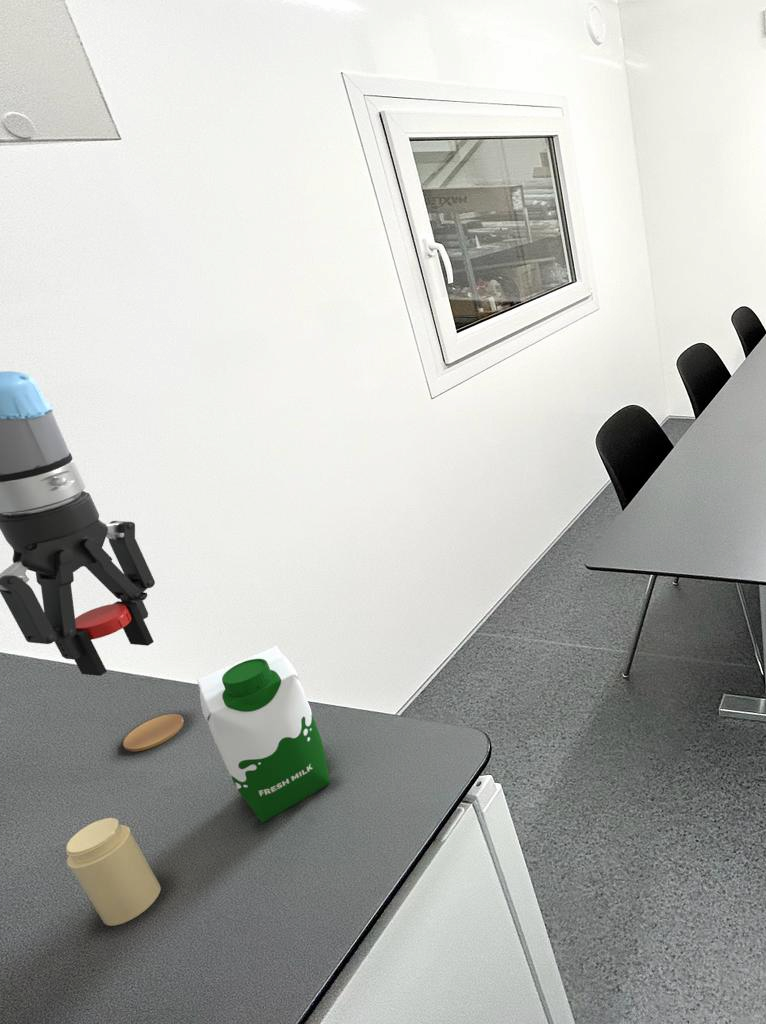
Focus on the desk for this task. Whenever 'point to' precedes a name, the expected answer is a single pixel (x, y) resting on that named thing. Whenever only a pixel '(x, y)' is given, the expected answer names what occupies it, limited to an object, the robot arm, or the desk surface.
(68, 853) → the jar
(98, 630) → the jar lid
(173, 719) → the coaster
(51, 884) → the desk surface
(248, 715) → the milk carton
